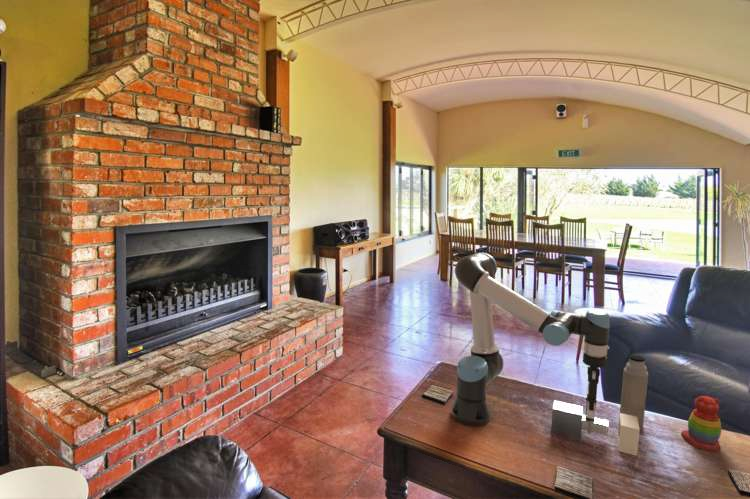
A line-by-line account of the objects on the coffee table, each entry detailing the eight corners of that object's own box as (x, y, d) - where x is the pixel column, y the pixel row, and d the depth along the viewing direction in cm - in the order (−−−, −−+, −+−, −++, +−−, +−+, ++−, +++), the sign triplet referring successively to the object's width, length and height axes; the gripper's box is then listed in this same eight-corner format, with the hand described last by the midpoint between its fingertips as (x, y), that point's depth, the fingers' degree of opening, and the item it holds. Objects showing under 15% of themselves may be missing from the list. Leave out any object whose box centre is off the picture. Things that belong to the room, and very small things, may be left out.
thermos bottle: (637, 420, 164) (644, 353, 160) (646, 432, 156) (653, 362, 152) (615, 418, 166) (621, 352, 161) (623, 430, 158) (629, 360, 154)
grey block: (551, 432, 156) (552, 408, 155) (552, 423, 162) (554, 400, 161) (580, 440, 152) (582, 415, 150) (581, 430, 158) (582, 406, 156)
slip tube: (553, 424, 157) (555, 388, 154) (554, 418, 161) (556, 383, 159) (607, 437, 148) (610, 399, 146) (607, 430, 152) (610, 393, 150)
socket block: (618, 451, 145) (620, 425, 144) (617, 437, 153) (619, 412, 152) (636, 455, 143) (639, 429, 141) (634, 441, 151) (637, 416, 149)
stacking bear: (713, 437, 153) (719, 392, 150) (726, 454, 144) (733, 406, 141) (679, 432, 156) (684, 388, 154) (689, 448, 147) (695, 401, 144)
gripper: (608, 369, 136) (602, 428, 139) (606, 343, 158) (601, 395, 161) (582, 364, 140) (578, 423, 143) (584, 340, 161) (580, 391, 165)
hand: (590, 408), depth 152 cm, fingers open, 13 cm apart
